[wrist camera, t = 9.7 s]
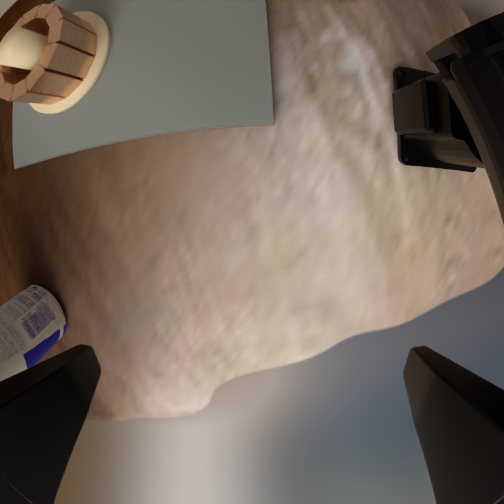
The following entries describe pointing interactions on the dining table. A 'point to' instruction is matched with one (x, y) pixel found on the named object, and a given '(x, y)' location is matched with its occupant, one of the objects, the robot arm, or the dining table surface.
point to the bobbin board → (149, 75)
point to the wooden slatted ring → (52, 57)
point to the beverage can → (28, 329)
